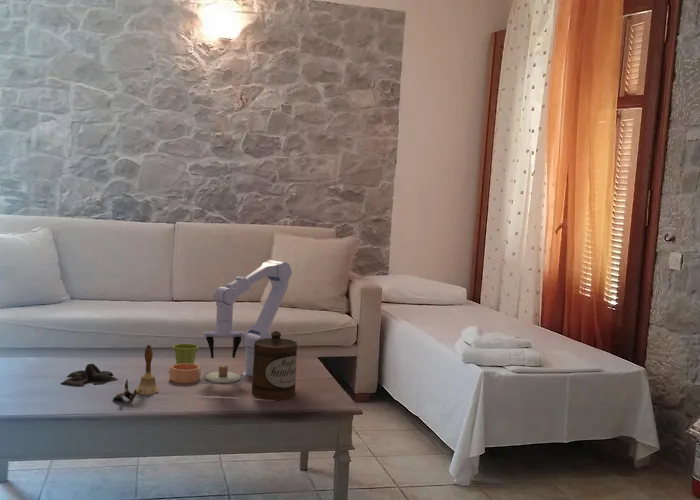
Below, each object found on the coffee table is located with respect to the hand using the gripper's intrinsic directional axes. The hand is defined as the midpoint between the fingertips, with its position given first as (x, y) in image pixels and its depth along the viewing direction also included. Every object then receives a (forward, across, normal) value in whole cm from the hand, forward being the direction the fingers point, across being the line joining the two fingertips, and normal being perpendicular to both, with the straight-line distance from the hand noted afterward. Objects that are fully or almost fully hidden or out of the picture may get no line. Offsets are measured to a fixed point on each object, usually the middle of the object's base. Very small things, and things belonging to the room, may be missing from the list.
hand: (222, 357), depth 270 cm
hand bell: (+9, +26, +12) cm, 30 cm away
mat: (+8, 0, 0) cm, 8 cm away
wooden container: (+9, -16, +19) cm, 26 cm away
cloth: (+9, +44, -4) cm, 45 cm away
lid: (+8, 0, 0) cm, 8 cm away
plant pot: (+9, +12, -18) cm, 23 cm away
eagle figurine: (+9, +33, +23) cm, 41 cm away
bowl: (+8, +13, 0) cm, 16 cm away
